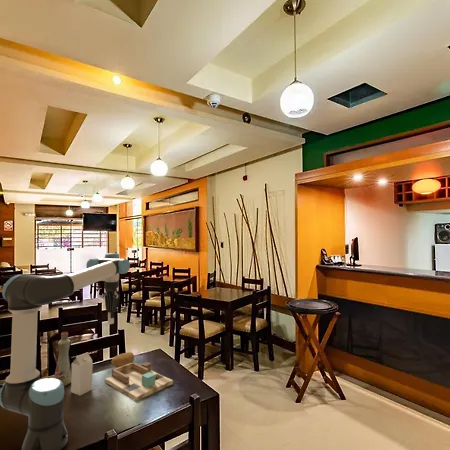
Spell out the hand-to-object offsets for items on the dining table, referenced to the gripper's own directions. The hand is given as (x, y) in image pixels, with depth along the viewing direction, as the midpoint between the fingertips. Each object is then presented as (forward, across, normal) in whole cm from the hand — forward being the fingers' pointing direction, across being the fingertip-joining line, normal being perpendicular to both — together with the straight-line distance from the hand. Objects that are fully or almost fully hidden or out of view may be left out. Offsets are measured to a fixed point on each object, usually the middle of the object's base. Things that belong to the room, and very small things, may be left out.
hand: (110, 323), depth 168 cm
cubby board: (+32, -12, -10) cm, 36 cm away
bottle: (+33, +19, +17) cm, 41 cm away
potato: (+33, +13, -16) cm, 39 cm away
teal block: (+30, -21, -10) cm, 38 cm away
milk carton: (+33, +3, +14) cm, 36 cm away
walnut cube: (+30, -6, -20) cm, 37 cm away
